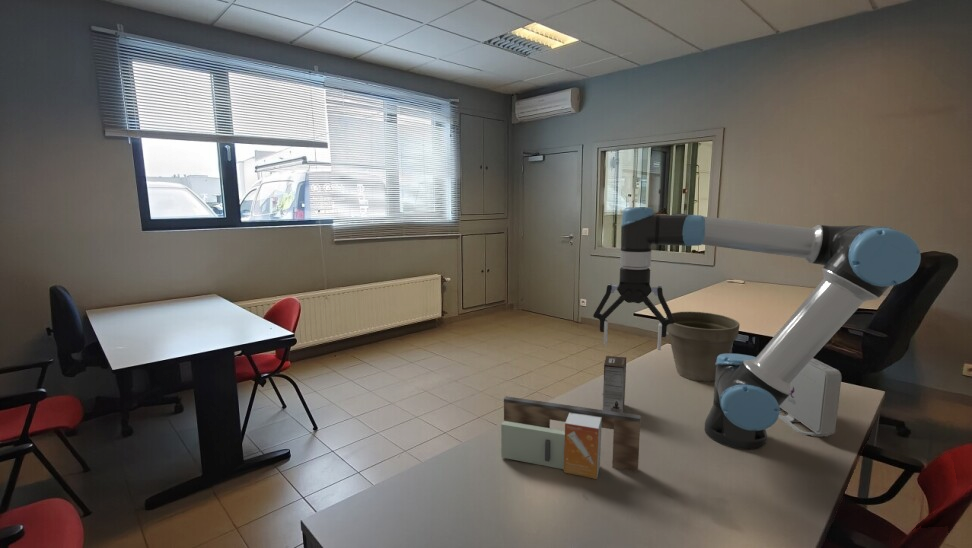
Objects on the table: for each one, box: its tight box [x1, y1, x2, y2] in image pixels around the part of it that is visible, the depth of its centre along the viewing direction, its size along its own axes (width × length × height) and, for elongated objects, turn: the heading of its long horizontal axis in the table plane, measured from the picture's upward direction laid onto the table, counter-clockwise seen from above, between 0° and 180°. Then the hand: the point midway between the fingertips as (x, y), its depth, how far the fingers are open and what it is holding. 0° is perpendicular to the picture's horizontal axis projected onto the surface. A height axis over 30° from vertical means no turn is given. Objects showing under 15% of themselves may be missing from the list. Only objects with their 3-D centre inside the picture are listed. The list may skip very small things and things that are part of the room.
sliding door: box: [500, 420, 565, 470], centre depth 111 cm, size 16×3×9 cm, turn 70°
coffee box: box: [602, 355, 627, 413], centre depth 140 cm, size 9×6×16 cm
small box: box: [563, 412, 602, 480], centre depth 108 cm, size 8×6×13 cm
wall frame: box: [503, 396, 641, 473], centre depth 113 cm, size 34×2×14 cm, turn 70°
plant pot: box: [665, 311, 740, 382], centre depth 168 cm, size 25×25×22 cm
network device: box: [778, 357, 843, 437], centre depth 132 cm, size 26×9×20 cm, turn 178°
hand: (631, 346), depth 119 cm, fingers open, 13 cm apart
